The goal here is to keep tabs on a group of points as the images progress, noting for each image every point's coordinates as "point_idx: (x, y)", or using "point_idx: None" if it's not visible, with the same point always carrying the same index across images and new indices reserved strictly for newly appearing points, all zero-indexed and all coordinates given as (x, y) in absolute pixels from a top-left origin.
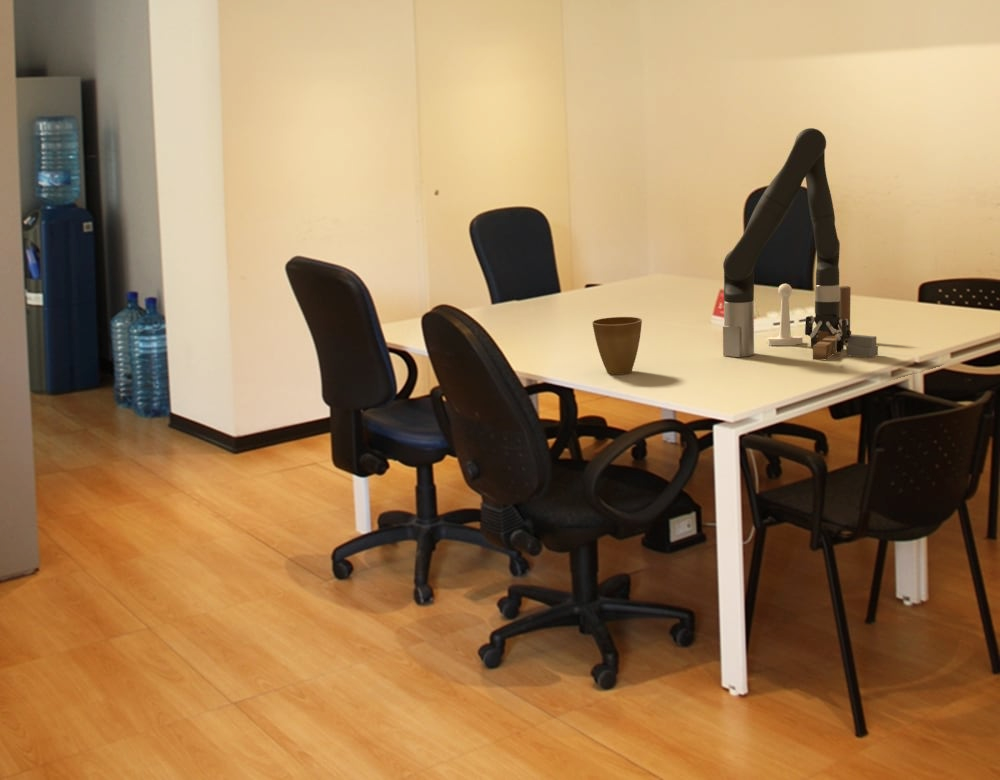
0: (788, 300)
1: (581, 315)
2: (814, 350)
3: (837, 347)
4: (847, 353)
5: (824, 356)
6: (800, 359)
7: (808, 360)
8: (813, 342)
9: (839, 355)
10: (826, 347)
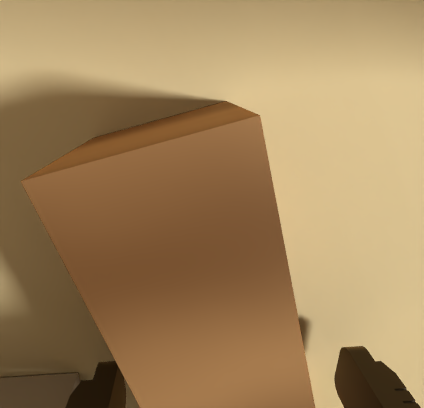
0: None
1: None
2: (218, 114)
3: (100, 397)
4: (58, 388)
5: (96, 140)
6: (341, 29)
7: (238, 20)
8: (388, 404)
9: None
10: (53, 212)
